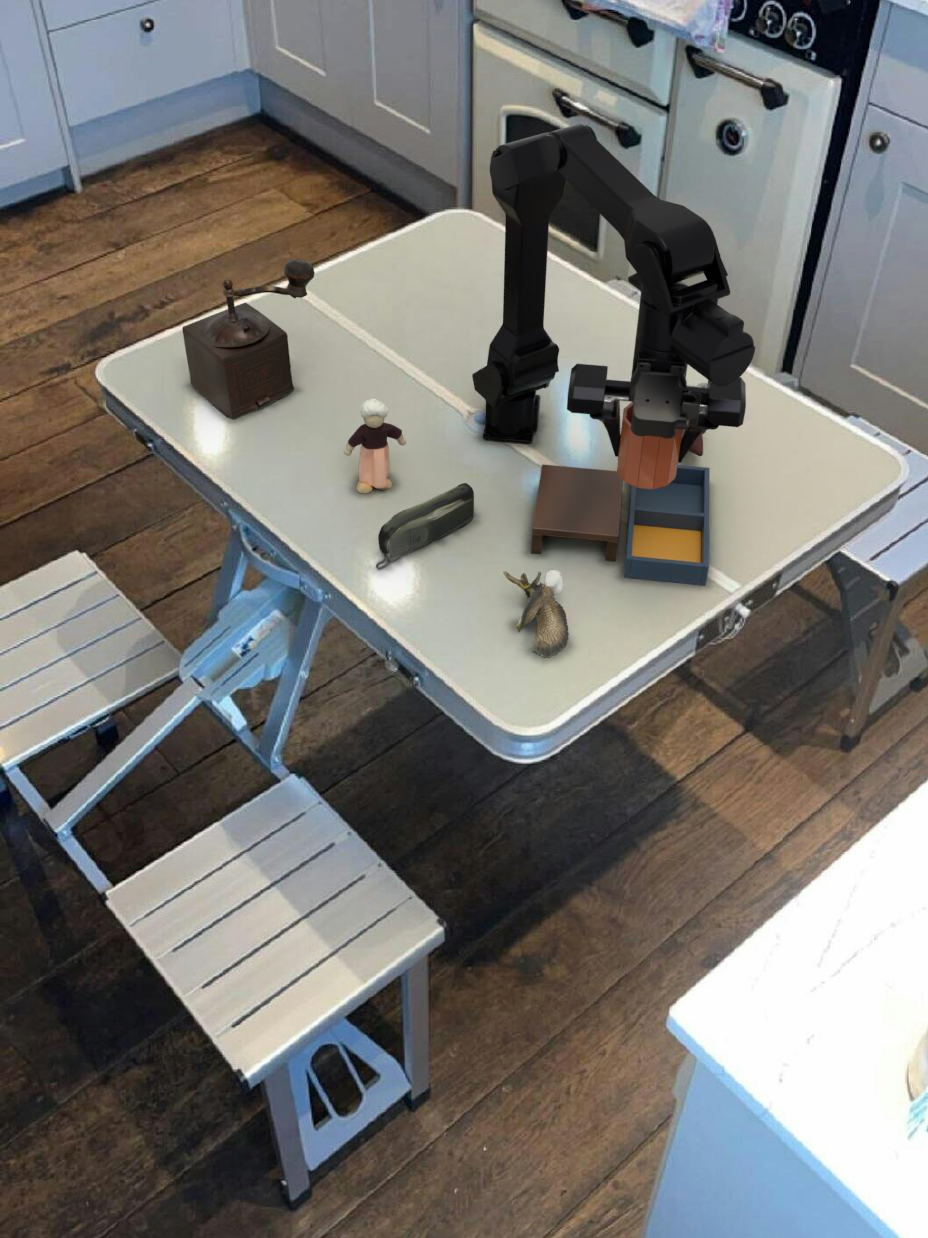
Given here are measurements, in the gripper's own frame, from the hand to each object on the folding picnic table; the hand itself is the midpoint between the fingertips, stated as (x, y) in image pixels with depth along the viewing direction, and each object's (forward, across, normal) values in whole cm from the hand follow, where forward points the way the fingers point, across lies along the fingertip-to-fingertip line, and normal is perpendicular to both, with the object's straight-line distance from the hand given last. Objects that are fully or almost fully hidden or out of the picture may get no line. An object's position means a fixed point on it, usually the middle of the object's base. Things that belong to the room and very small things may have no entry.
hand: (647, 457), depth 144 cm
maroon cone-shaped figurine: (+13, +4, +21) cm, 25 cm away
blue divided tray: (+13, +4, +3) cm, 14 cm away
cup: (+2, 0, 0) cm, 2 cm away
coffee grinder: (+13, -53, +26) cm, 60 cm away
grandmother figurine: (+13, -32, +7) cm, 36 cm away
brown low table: (+13, -7, +3) cm, 15 cm away
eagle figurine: (+13, -10, -15) cm, 23 cm away
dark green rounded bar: (+13, -25, -3) cm, 29 cm away
